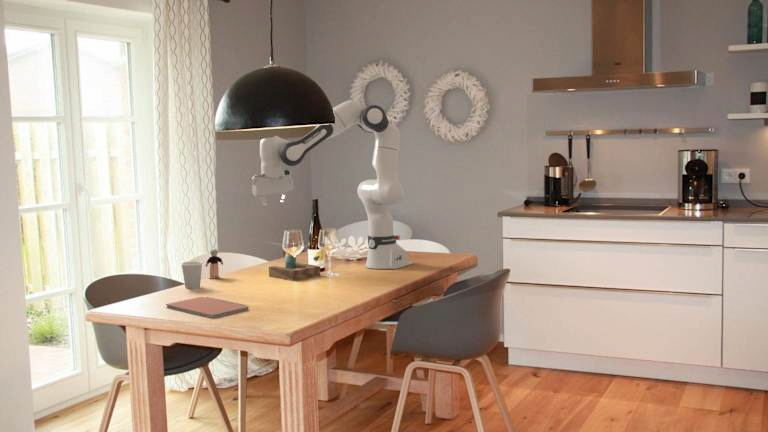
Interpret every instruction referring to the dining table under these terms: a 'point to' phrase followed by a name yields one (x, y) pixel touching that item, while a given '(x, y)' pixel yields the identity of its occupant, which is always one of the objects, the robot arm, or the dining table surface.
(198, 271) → the dixie cup
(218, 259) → the grandmother figurine
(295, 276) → the dark brown square block
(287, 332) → the dining table surface
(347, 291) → the dining table surface
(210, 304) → the notebook
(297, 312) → the dining table surface
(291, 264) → the teal drink can
